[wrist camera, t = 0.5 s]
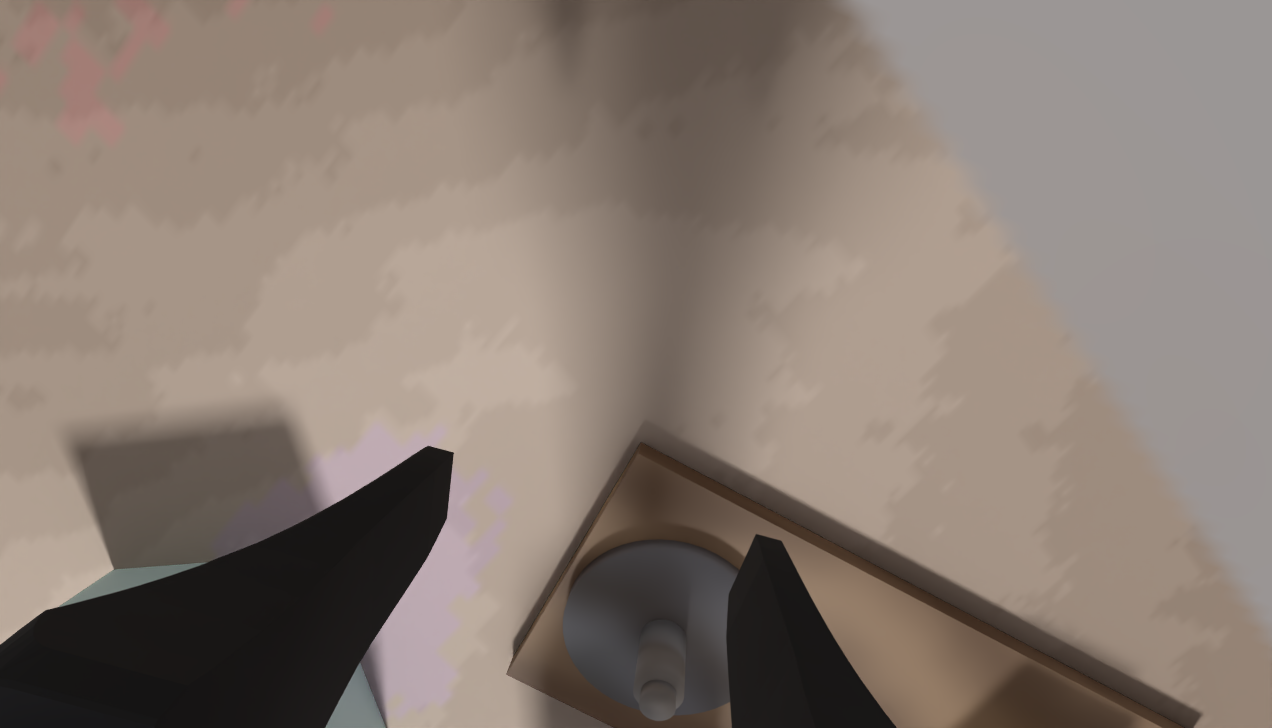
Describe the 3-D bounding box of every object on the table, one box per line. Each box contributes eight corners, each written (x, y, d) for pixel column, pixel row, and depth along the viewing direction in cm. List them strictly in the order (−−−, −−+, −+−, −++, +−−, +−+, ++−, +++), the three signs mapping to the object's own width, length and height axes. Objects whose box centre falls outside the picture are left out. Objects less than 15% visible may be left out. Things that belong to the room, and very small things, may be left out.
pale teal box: (113, 569, 30) (-70, 693, 23) (316, 553, 28) (185, 683, 21) (203, 738, 33) (69, 890, 26) (388, 734, 31) (297, 897, 24)
